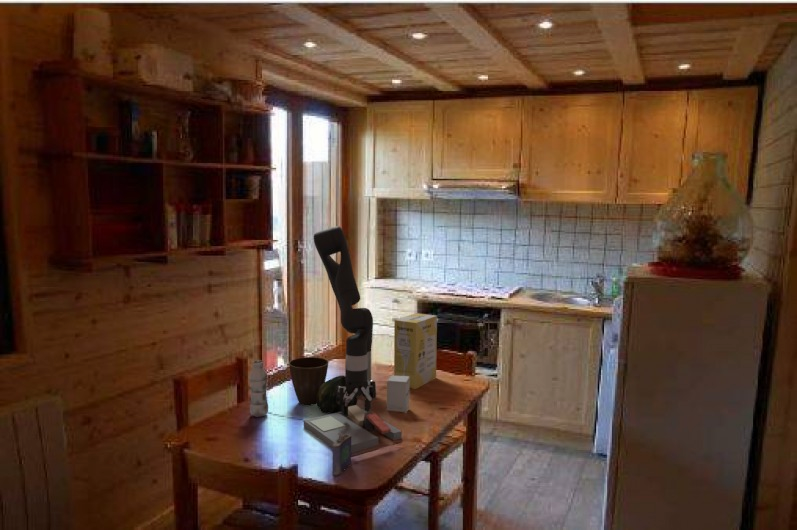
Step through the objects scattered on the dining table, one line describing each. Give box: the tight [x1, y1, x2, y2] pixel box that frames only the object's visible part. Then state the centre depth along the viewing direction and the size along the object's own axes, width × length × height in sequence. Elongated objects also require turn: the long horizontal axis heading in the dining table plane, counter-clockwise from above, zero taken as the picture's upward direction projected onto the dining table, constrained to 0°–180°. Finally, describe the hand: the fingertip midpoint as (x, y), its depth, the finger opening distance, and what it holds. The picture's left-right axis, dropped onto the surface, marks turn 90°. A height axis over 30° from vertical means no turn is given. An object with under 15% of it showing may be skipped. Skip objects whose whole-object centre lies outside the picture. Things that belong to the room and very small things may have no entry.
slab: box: [347, 404, 365, 428], centre depth 192 cm, size 9×4×3 cm, turn 35°
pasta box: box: [393, 312, 438, 390], centre depth 244 cm, size 18×10×28 cm, turn 148°
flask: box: [331, 433, 352, 477], centre depth 163 cm, size 9×3×11 cm, turn 158°
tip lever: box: [346, 410, 391, 435], centre depth 188 cm, size 23×6×8 cm, turn 35°
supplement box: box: [386, 374, 410, 414], centre depth 209 cm, size 7×7×13 cm
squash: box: [315, 375, 358, 414], centre depth 207 cm, size 14×15×15 cm
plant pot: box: [288, 356, 329, 407], centre depth 217 cm, size 15×15×16 cm
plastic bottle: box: [248, 359, 269, 418], centre depth 203 cm, size 6×7×20 cm
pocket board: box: [303, 406, 403, 458], centre depth 186 cm, size 26×22×4 cm
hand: (356, 413), depth 192 cm, fingers open, 8 cm apart
